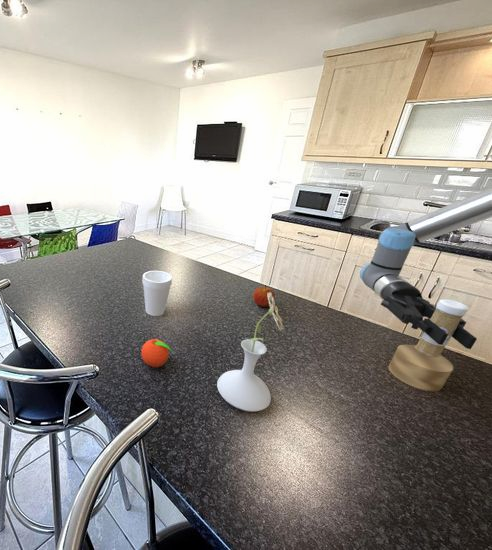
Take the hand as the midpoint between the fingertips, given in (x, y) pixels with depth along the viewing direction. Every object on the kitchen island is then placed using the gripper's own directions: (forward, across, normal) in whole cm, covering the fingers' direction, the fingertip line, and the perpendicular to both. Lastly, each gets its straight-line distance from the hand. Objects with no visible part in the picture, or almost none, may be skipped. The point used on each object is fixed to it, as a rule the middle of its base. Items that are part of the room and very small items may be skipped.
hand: (457, 341), depth 63 cm
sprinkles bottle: (-5, 0, -7) cm, 9 cm away
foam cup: (-17, +68, -15) cm, 72 cm away
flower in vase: (+13, +42, -15) cm, 46 cm away
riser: (-5, 0, -14) cm, 15 cm away
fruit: (-32, +32, -15) cm, 48 cm away
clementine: (+9, +63, -15) cm, 65 cm away
